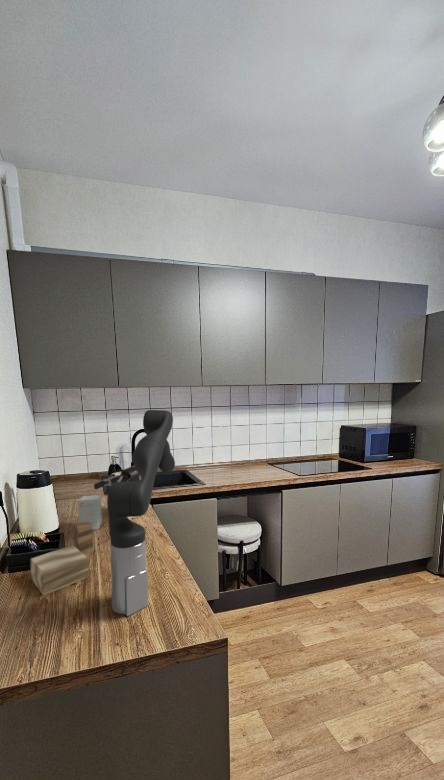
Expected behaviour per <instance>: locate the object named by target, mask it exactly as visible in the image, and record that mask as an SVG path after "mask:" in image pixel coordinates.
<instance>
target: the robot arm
mask: <svg viewBox="0 0 444 780" xmlns="http://www.w3.org/2000/svg"><path fill="white" fill-rule="evenodd" d="M144 412H145V413H144V414H143V420H142V427H143V430H144V433H145V436H143V437H142V438H141V439H140V440H139V441H138V442H137V444H136V446H135V449H134V451H133V454H132V458H131V460H132V464H133V465H131V466H129V467H127V468H124V469H122V470H121V471H120V472H121V474H120V475H116V476H115V474H112V473H111V474H109V475H106V476H104V477H102V478H100V481H98V482H96V483H94V484H93V487H94V488H93V489H94V490H99V489H101V488H103V487H107V488H106V489H105V493H106V495H107V500H106V501H107V515H108V516H107V517H108V531H109V538H110V581H111V582H110V585H111V586H110V587H111V588H110V591H111V609H112V611H113V612H114V613H117V614H118V615H125V616H126V617H129V616H131V615H132V614H134V613H136V612H138V611H140V610H143V609H144V608H146V607H147V606H149V595H148V593H149V591H148V587H149V585H148V570H147V566H146V565H147V564H146V563H147V560H146V557H147V553H146V552H147V551H146V549H147V548H146V529H145V527H144V526H143V525H142V524H139V523H136V522H134V521H132V519H131V520H129V519H128V518H127V517H137V516H141V517H142V516H145V514H146V513H147V512H148V510H149V508H150V507H149V506H150V504H151V499H152V495H153V489H154V484H155V480H156V476H157V474H158V472H159V471H158V470H160V471H161V472H163V473H165V474H169V473H172V471H173V470H174V469H175V466H176V461H175V459H174V457H173V455H172V451H171V447H170V443H169V441H168V438H169V435H170V433H171V431H172V428H173V423H174V416H173V414H172V412H171V411H169V410H165V409H160V410H159V409H148V410H146V411H144ZM108 486H109V487H108Z"/></svg>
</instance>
